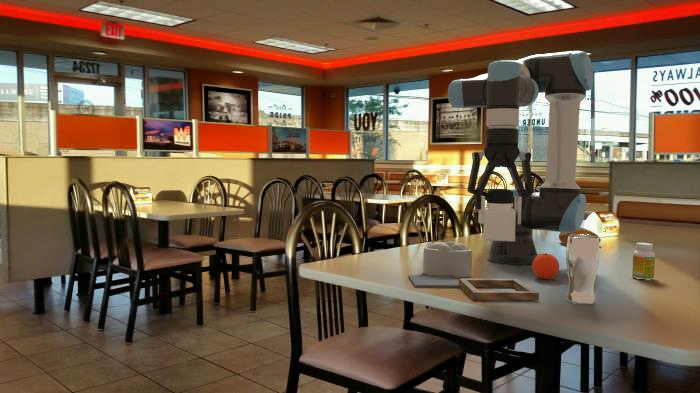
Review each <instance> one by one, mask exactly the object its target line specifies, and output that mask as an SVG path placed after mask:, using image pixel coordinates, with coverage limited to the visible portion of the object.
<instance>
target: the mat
mask: <svg viewBox="0 0 700 393" xmlns="http://www.w3.org/2000/svg"><path fill="white" fill-rule="evenodd" d="M408 279H409V280H410V281H411V283H412V285H413V286H414V287H415V288H435V289H436V288H438V289H439V288H441V289H442V288H444V289H445V288H447V289H452V288H453V289H455V288H457V289H458V288H459V289H460V288H461V285H460V284H459V279H457V277H454V276H453V275H427V274H422V275H421V274H409V275H408ZM461 289H462V288H461Z"/></svg>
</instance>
